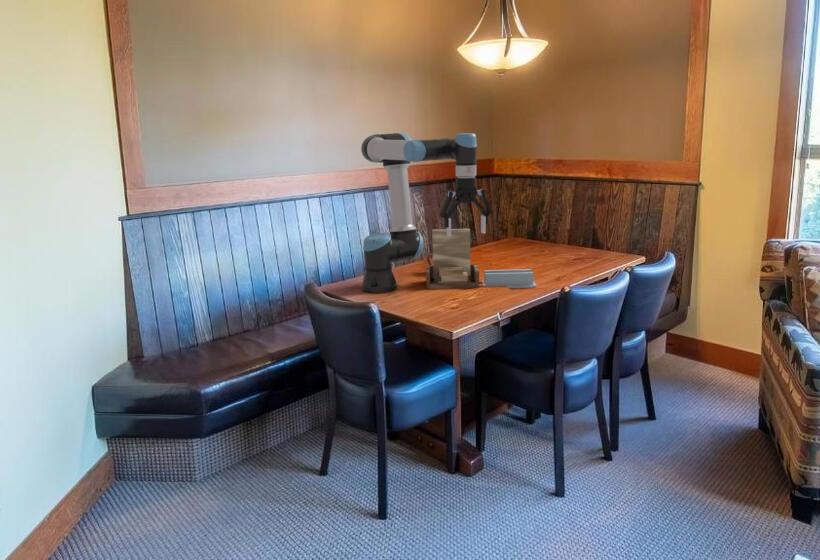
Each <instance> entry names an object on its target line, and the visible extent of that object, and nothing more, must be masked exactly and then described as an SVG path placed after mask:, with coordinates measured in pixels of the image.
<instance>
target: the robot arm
mask: <svg viewBox="0 0 820 560" xmlns="http://www.w3.org/2000/svg"><path fill="white" fill-rule="evenodd" d="M477 142H478V141H477V135H476V134H475V133H474V132H472V133H468V132H463V133H457V134H455V138H448V137H445V138H444V137H443V138H438V139H437V138H436V139H435V138H434V139H412V138H411V137H410V136H409V134H406V133H402V132H401V133H399V132H398V133H397V132H396V133H394V132H393V133H381V134H379V133H378V134H376V133H375V134H372V135H369V136H367V137H366V138H365V139H363V141H362V144H361V146H360V148H361V149H360V150H361V154H362V156H363V157H364V159H366V160H367V161H369V162H371V163H376V164H377V163H382V167H383V169H385V170H386V172H387V173H386V174H387V180H388V192H389V199H390V202H389V203H390V210H391V211H390V212H391V220H392V226H391V227H392V228H391V229H390V230H389V232H379V233H378V232H377V233H372V234H369V235H367V236H366V237H365V238H364V239H363V248H362V250H363V261H364V274H363V278H362V281H361V290H362V292H364V293H365V292H366V293H370V294H371V293H372V294H375V293H376V294H382V293H388V292H389V293H390V292H393V291H395V290H397V288H398V283H397V280H396V277H395V273H394V272H393V263H397V262H404V261H411V260H413V259H418V258H419V257H420V256H421V255H422V253H423V250H424V245H425V244H424V238H423V237H422V234H421V233H420V232H419V231H418V230H417V227H416V226H415V225H414V224H413V217H412V216H413V215H412V205H411V196H410V195H411V194H410V185H409V174H408V173H409V172H408V168H409V167H410V165H411V163H419V162H427V161H443V160H454V161H455V177H456V178H455V191H451V190H448V191H447V195H446V198H445V200H444V202H443V206H442V207H441V209H440V212H439V214H438V215H439V217H441V218H443V222H444V223H443V224H444V227H445V228H446V229H447V236H449V237H450V236H451V229H452V218H450V217H451V216H452V215H453V214H454V212H455V211H456V209H457V208H458V206H459V205H461V203H462V204H467V203H469V204H470V203H473V204H474V205H475V206H476V208H477V209H478V210H479V211H480V212H481V215H480V233H481V234H483V235H485V234H486V233H487V231H486V230H487V228H486V227H487V226H486V225H488V224H489V216H490V215H492V214H493V213H494V211H493V208H492V207H491V204H490V203H489V200H488V199H487V196H486V192H485V191H486V190H485V189H484V188H480V189H478V190H477V177H476V176H477V152H478V151H477V149H478V143H477ZM477 195H478V196H479V197H480V199H481V201H482V204H483V205H482V204H481V203H480V202H479V200H478V199H477V198H476V197H477ZM454 197H455V199H454V202H453V203H452V205H450V204H451V202H452V200H453V198H454Z"/></svg>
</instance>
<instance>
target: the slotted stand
mask: <svg viewBox="0 0 820 560" xmlns="http://www.w3.org/2000/svg"><path fill="white" fill-rule="evenodd" d="M532 270H533V269H531V268H529V269H528V268H523V269H522V268H521V269H517V268H516V269H488V270H487V269H485V270H483V274H484V275H483V280H481V283H482V286H483V287H484V288H488V287H489V288H490V287H491V288H492V287H493V288H495V287H508V289H537V284H536V282H535V281H534V276H535V274H534V272H533V271H532Z"/></svg>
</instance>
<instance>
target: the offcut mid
mask: <svg viewBox="0 0 820 560" xmlns="http://www.w3.org/2000/svg"><path fill="white" fill-rule="evenodd" d="M442 281H468V275H467V272H463V275H451V276H441V282H442Z"/></svg>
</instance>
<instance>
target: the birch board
mask: <svg viewBox="0 0 820 560" xmlns="http://www.w3.org/2000/svg"><path fill="white" fill-rule="evenodd" d="M431 233H432V234H431V235H432V254H433V256H432V264H433V277H434V283H438V279H441V276H439V268H445V267H462V268H463V272H467V275H468V281H467V282H471V269H470V264H471V229H470V228H451V236H450V237H449V236H447V228H443V229H442V228H441V229H432V230H431Z"/></svg>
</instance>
